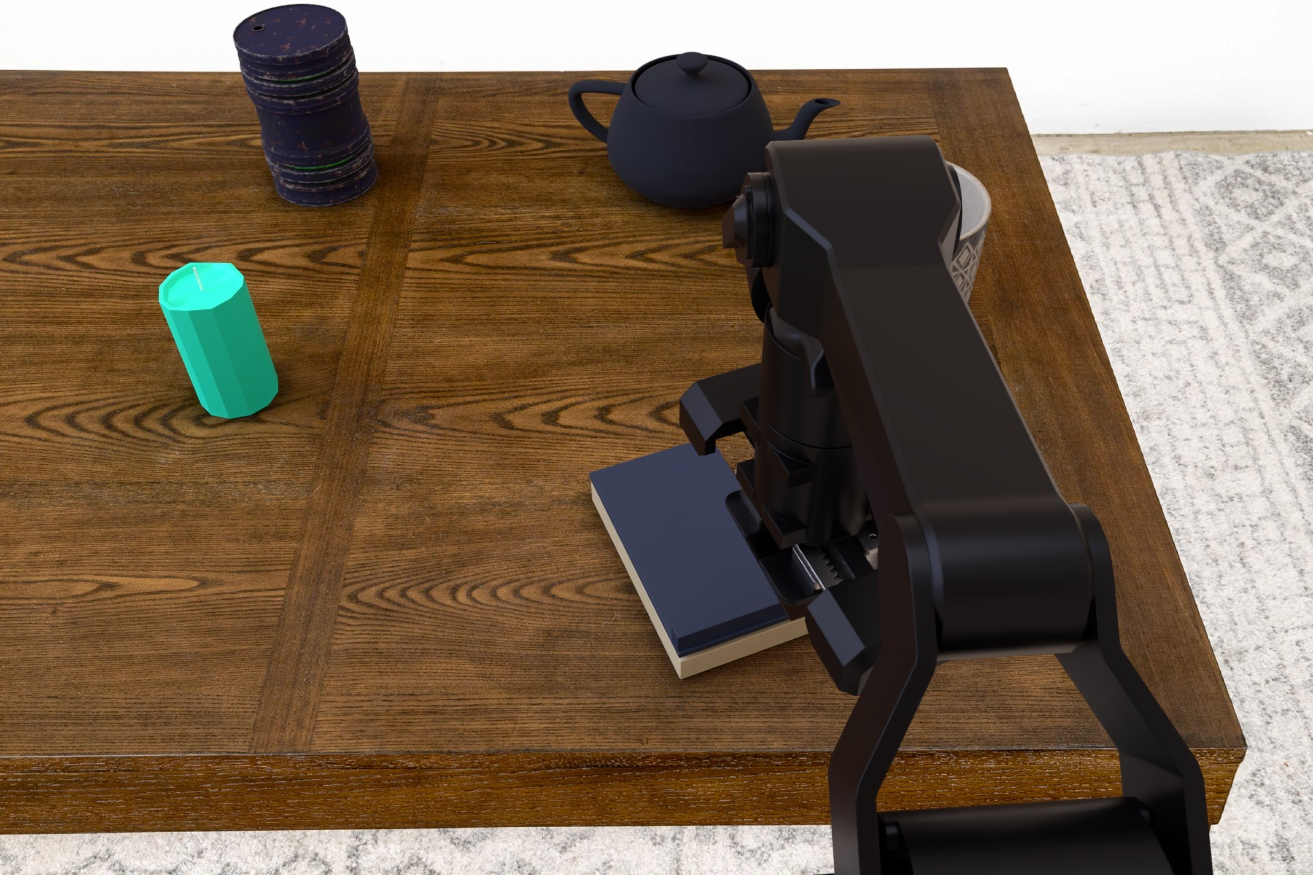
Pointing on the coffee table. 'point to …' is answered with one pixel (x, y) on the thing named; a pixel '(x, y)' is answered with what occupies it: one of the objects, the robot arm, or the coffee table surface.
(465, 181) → the coffee table surface
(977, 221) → the planter
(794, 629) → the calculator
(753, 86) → the teapot
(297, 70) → the dark blue barrel
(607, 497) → the cover
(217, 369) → the candle
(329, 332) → the coffee table surface
